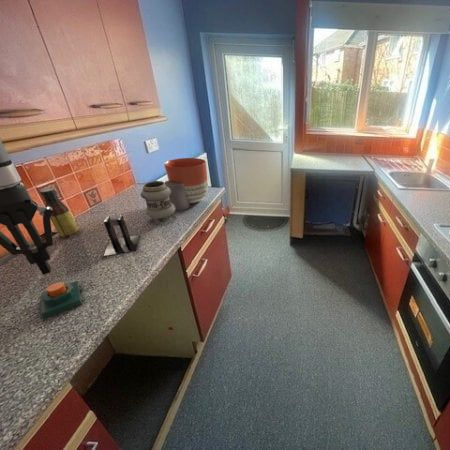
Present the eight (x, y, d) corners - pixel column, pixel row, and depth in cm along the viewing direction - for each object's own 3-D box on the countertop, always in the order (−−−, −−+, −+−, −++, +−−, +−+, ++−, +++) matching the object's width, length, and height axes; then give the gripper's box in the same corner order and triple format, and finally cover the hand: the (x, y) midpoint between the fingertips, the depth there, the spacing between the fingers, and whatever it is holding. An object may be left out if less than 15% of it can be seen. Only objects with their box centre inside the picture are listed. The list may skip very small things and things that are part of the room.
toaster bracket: (111, 242, 98) (100, 213, 92) (140, 238, 102) (131, 209, 96) (104, 259, 88) (91, 228, 82) (137, 253, 92) (127, 223, 86)
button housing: (44, 298, 72) (38, 287, 70) (80, 286, 76) (75, 276, 74) (44, 320, 65) (37, 309, 63) (82, 305, 70) (77, 294, 68)
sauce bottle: (83, 231, 105) (63, 186, 95) (76, 238, 100) (55, 191, 90) (64, 232, 103) (42, 187, 93) (56, 240, 98) (32, 193, 88)
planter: (197, 211, 126) (189, 169, 116) (164, 205, 130) (154, 164, 120) (217, 197, 142) (213, 160, 132) (188, 193, 146) (181, 156, 136)
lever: (120, 227, 101) (118, 218, 101) (130, 225, 102) (128, 217, 102) (108, 228, 88) (106, 218, 88) (120, 226, 89) (118, 216, 89)
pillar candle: (172, 204, 132) (166, 176, 125) (192, 203, 134) (187, 176, 127) (167, 212, 124) (160, 183, 116) (188, 211, 125) (182, 182, 118)
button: (49, 291, 69) (46, 285, 68) (66, 286, 71) (63, 280, 70) (49, 299, 67) (46, 293, 66) (67, 293, 69) (63, 287, 68)
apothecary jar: (142, 224, 112) (131, 186, 103) (162, 213, 122) (153, 178, 113) (164, 228, 109) (155, 190, 100) (183, 217, 119) (175, 181, 111)
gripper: (39, 176, 61) (77, 255, 72) (-45, 186, 53) (12, 273, 64) (38, 184, 56) (79, 268, 67) (-55, 197, 48) (9, 289, 59)
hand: (46, 271), depth 65 cm, fingers closed
